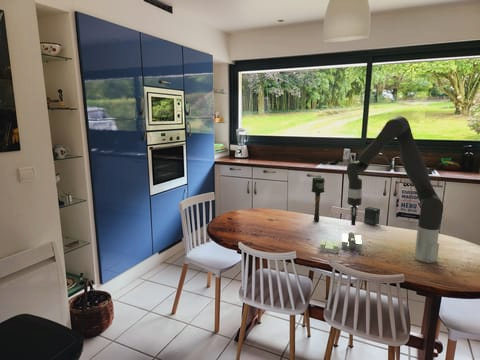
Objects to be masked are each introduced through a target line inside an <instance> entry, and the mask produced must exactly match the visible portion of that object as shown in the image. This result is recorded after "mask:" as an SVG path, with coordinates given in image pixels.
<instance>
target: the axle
mask: <svg viewBox="0 0 480 360" xmlns="http://www.w3.org/2000/svg"><path fill="white" fill-rule="evenodd" d="M347 234H348V238H349V246H350V249H351V250H350V251H356V250H355V249H356V244H355V233H354V232H349V233H347Z"/></svg>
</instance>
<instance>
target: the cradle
mask: <svg viewBox="0 0 480 360" xmlns="http://www.w3.org/2000/svg"><path fill="white" fill-rule="evenodd" d="M339 242H340V241H339V240H337V239H336V240H335V239H334V241H333V242H327V238H321V241H320V249H319V251H320V252H325V253H333V254H338V253H339V246H340V245H339Z"/></svg>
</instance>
